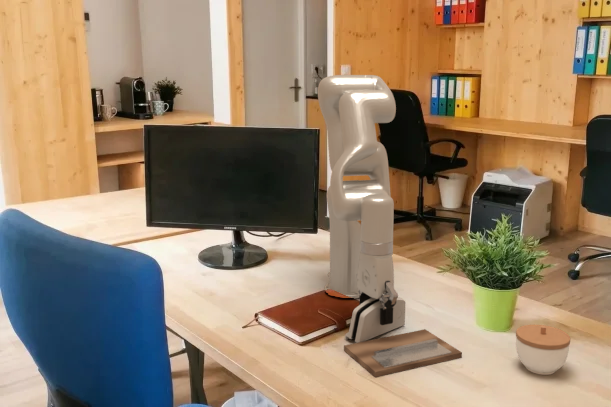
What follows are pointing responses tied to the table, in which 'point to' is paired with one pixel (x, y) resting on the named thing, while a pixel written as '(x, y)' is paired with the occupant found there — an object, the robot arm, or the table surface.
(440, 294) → the table surface
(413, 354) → the plate
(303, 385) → the table surface
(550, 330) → the lidded jar
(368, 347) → the mounting board
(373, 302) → the white arched block
